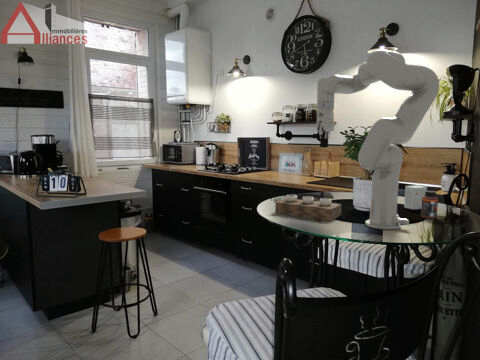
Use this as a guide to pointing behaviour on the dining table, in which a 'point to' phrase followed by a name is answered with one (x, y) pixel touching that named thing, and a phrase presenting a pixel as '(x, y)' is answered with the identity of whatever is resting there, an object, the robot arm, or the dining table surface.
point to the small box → (414, 196)
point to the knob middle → (308, 200)
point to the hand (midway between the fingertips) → (324, 147)
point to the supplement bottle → (429, 205)
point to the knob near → (325, 202)
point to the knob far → (291, 198)
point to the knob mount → (308, 209)
